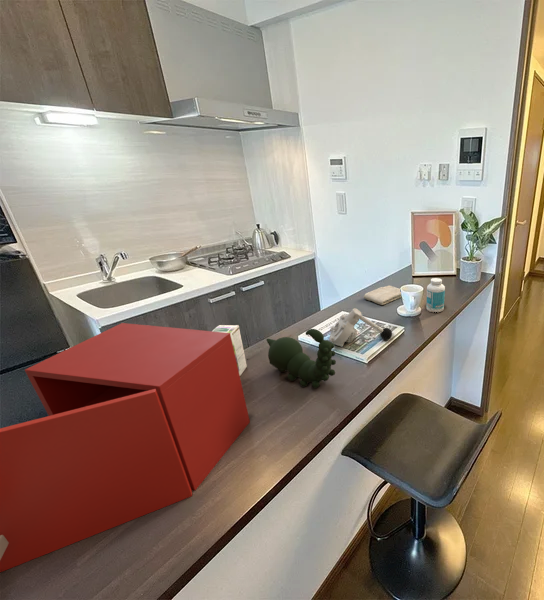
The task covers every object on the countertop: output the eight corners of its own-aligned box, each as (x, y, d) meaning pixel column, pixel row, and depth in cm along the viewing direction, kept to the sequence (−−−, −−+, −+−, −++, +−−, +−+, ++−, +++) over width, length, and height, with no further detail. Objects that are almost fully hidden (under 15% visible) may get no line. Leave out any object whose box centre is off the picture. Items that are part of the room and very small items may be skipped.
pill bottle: (446, 308, 140) (448, 278, 135) (440, 314, 134) (442, 283, 129) (429, 304, 143) (431, 275, 138) (423, 311, 137) (424, 281, 132)
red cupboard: (195, 490, 62) (159, 386, 52) (77, 470, 65) (24, 369, 56) (250, 422, 78) (230, 332, 68) (153, 409, 82) (122, 322, 72)
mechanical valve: (327, 329, 115) (353, 299, 112) (366, 352, 123) (392, 324, 119) (326, 345, 106) (355, 313, 103) (368, 369, 114) (396, 340, 110)
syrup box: (219, 378, 94) (208, 333, 88) (229, 366, 99) (219, 323, 93) (239, 378, 94) (229, 333, 88) (247, 366, 99) (239, 324, 94)
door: (191, 525, 56) (150, 416, 46) (-37, 623, 44) (-155, 503, 34) (192, 491, 61) (155, 388, 52) (-10, 571, 49) (-105, 455, 40)
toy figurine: (342, 385, 94) (281, 354, 104) (342, 329, 85) (276, 301, 96) (319, 405, 86) (256, 369, 97) (317, 345, 78) (248, 313, 89)
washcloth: (408, 295, 153) (408, 289, 152) (382, 307, 140) (382, 300, 139) (389, 289, 160) (389, 283, 159) (363, 299, 147) (362, 293, 146)
